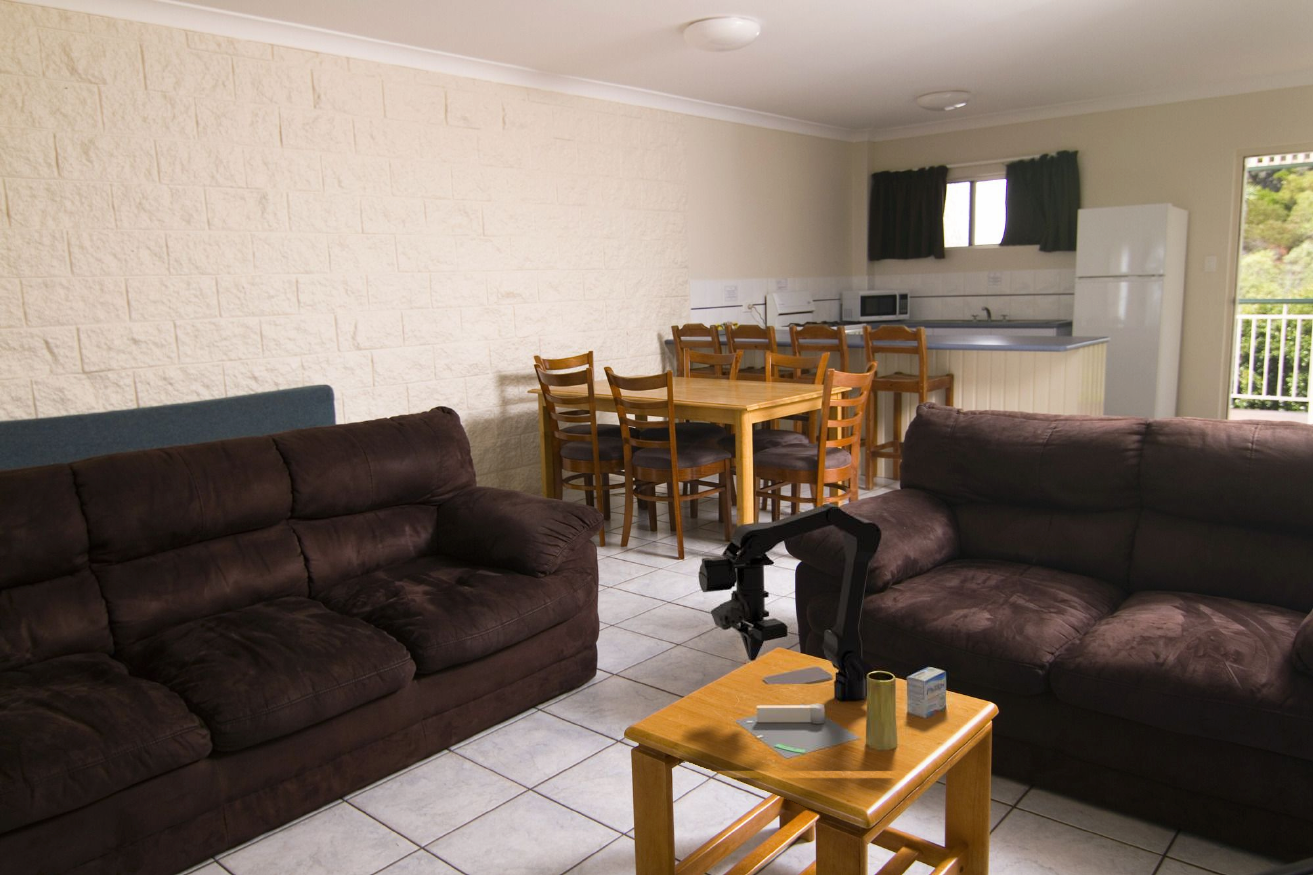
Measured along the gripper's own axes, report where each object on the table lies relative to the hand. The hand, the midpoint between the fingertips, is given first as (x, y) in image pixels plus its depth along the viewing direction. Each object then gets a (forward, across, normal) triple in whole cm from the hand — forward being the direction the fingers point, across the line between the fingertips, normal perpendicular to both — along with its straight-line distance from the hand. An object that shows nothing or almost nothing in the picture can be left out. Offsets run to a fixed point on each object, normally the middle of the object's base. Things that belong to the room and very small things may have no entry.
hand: (752, 660), depth 189 cm
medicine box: (+12, +18, +31) cm, 38 cm away
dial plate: (+12, +12, +2) cm, 17 cm away
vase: (+12, +25, +13) cm, 31 cm away
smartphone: (+12, -12, +19) cm, 26 cm away
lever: (+11, +9, +3) cm, 14 cm away
